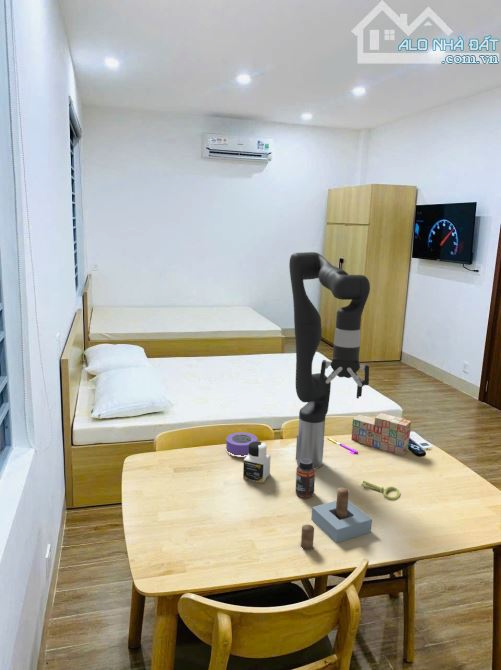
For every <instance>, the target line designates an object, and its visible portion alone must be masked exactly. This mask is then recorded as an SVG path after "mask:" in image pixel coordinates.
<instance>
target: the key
mask: <svg viewBox="0 0 501 670" xmlns="http://www.w3.org/2000/svg"><path fill="white" fill-rule="evenodd" d="M362 486H363V488H364V487H366V486H367V487H370V488H371V489H373V490H376V491H379V492H380V493H382V496H383V497H384V499H386V500H389V501H394V500H397V499H399V498H400V495H401V492H400V490H399V489H398V488H397V487H395V486H387V487H385V488H384V487H383V486H378V485H376V484H373V483H370V482H369V481H366V480H363V481H362V483H361V487H362ZM389 491H394V492H396V495H394V496H389V495H387V494H386V493H388V492H389Z"/></svg>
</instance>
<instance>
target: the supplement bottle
mask: <svg viewBox="0 0 501 670" xmlns="http://www.w3.org/2000/svg"><path fill="white" fill-rule="evenodd" d="M312 465H313V464H312V460H311V459H307V458H303V459H301V460H300V465H297V467H296V471H295V472H296V473H295V475H296V476H295V494H296V495H297V496H298V497H300V498H311V497H312V496H314V494H315V479H316V468H314V467H313V466H312Z"/></svg>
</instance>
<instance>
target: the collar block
mask: <svg viewBox="0 0 501 670" xmlns="http://www.w3.org/2000/svg"><path fill="white" fill-rule="evenodd" d="M336 501H337V500H334V501H329V502H327V503H322V504H319V505H315V506H312V507H311V521H313V523H314V524H315V525H316V526H317V527H319V528H320V529H321V530H322V532H324V533H325V534H326V535H327V536H328V537H329V538H330V539H331V540H332V541H333V542H334V543H335V544H337V543H341V542H344V541H346V540H347V541H348V540H349V539H353V538H355V537H356V538H357V537H361V536H363V535H366V534H369V533H372V524H373V519H372V518H371V517H370V516H369V515H367V514H366V513H365V512H364V511H362V510H361V509H360V508H359V507H358V506H356V505H355V504H353V503H352V502H351V501H350V500H349V499H348V509H347V518H345V519H342V520H339V519H338V518H337V517H336V516H335V515H336Z"/></svg>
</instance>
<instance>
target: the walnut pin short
mask: <svg viewBox="0 0 501 670" xmlns="http://www.w3.org/2000/svg"><path fill="white" fill-rule="evenodd" d="M314 536H315V527H314V526H313V525H311V524H303V525H302V527H301V538H300V541H301V542H300V548H301V547H302V548H303V549H302V548H301V549H302V550H304V551H311V550H313V548H314Z"/></svg>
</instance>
